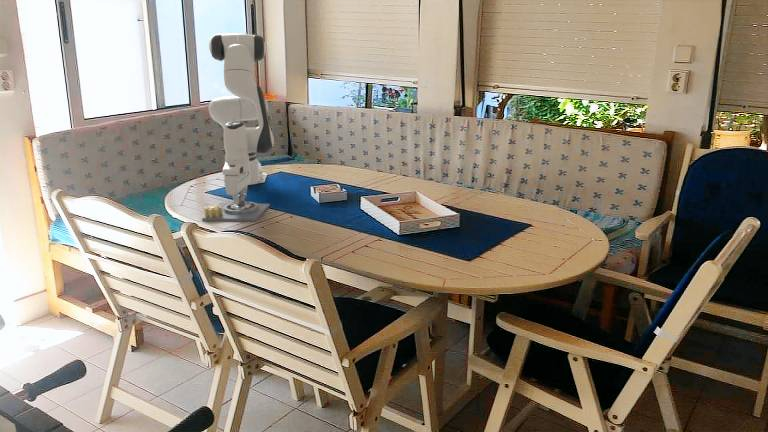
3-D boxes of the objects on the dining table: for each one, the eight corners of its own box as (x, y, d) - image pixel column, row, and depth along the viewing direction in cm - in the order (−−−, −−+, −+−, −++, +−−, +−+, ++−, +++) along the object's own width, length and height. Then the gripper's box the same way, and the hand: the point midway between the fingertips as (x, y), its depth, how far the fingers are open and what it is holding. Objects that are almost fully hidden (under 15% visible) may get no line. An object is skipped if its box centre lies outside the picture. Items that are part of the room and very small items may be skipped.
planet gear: (234, 205, 247) (233, 192, 246) (255, 206, 247) (254, 192, 245) (227, 212, 239) (226, 198, 238) (248, 212, 239) (247, 198, 237)
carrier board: (220, 205, 252) (219, 195, 251) (269, 206, 250) (269, 196, 249) (201, 220, 233) (200, 210, 232) (255, 221, 231) (254, 211, 230)
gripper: (238, 159, 248) (240, 193, 252) (220, 171, 229) (223, 208, 233) (253, 159, 247) (256, 193, 252) (237, 171, 228) (240, 208, 232)
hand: (240, 200), depth 242 cm, fingers open, 8 cm apart
